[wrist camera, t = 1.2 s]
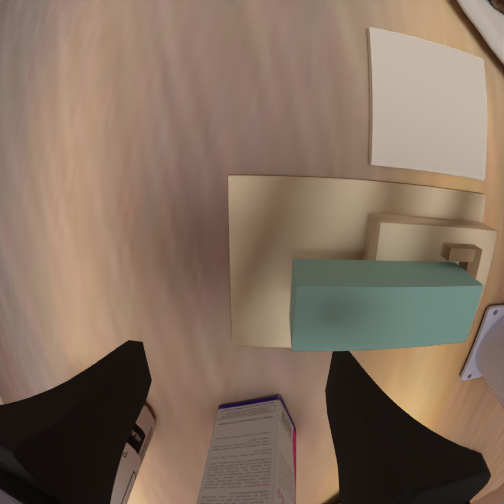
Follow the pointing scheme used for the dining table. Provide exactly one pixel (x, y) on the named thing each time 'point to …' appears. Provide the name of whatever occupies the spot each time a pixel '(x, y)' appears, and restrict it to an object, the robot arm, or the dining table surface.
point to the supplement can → (133, 457)
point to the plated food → (487, 22)
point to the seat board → (338, 238)
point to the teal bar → (379, 304)
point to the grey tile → (426, 106)
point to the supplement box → (251, 455)
